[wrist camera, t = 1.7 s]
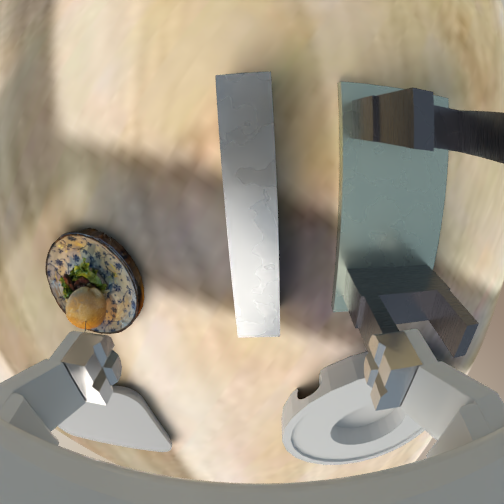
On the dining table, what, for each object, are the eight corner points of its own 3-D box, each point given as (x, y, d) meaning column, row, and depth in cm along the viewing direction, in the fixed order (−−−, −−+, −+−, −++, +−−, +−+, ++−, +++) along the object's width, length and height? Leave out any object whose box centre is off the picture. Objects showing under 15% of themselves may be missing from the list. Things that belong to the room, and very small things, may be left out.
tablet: (179, 442, 40) (177, 453, 38) (67, 424, 43) (63, 432, 41) (139, 381, 34) (134, 394, 32) (23, 368, 37) (17, 376, 35)
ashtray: (285, 452, 40) (286, 471, 37) (274, 361, 31) (275, 388, 27) (415, 427, 38) (422, 444, 35) (456, 328, 29) (470, 348, 25)
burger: (84, 203, 24) (36, 230, 18) (168, 288, 28) (142, 337, 21) (40, 273, 28) (3, 306, 21) (109, 341, 31) (84, 384, 24)
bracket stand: (337, 83, 19) (390, 54, 10) (442, 98, 19) (524, 97, 9) (331, 306, 27) (356, 388, 18) (420, 298, 27) (467, 366, 17)
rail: (224, 85, 20) (215, 75, 16) (269, 82, 20) (270, 71, 16) (241, 307, 28) (238, 337, 24) (278, 306, 28) (279, 336, 24)
